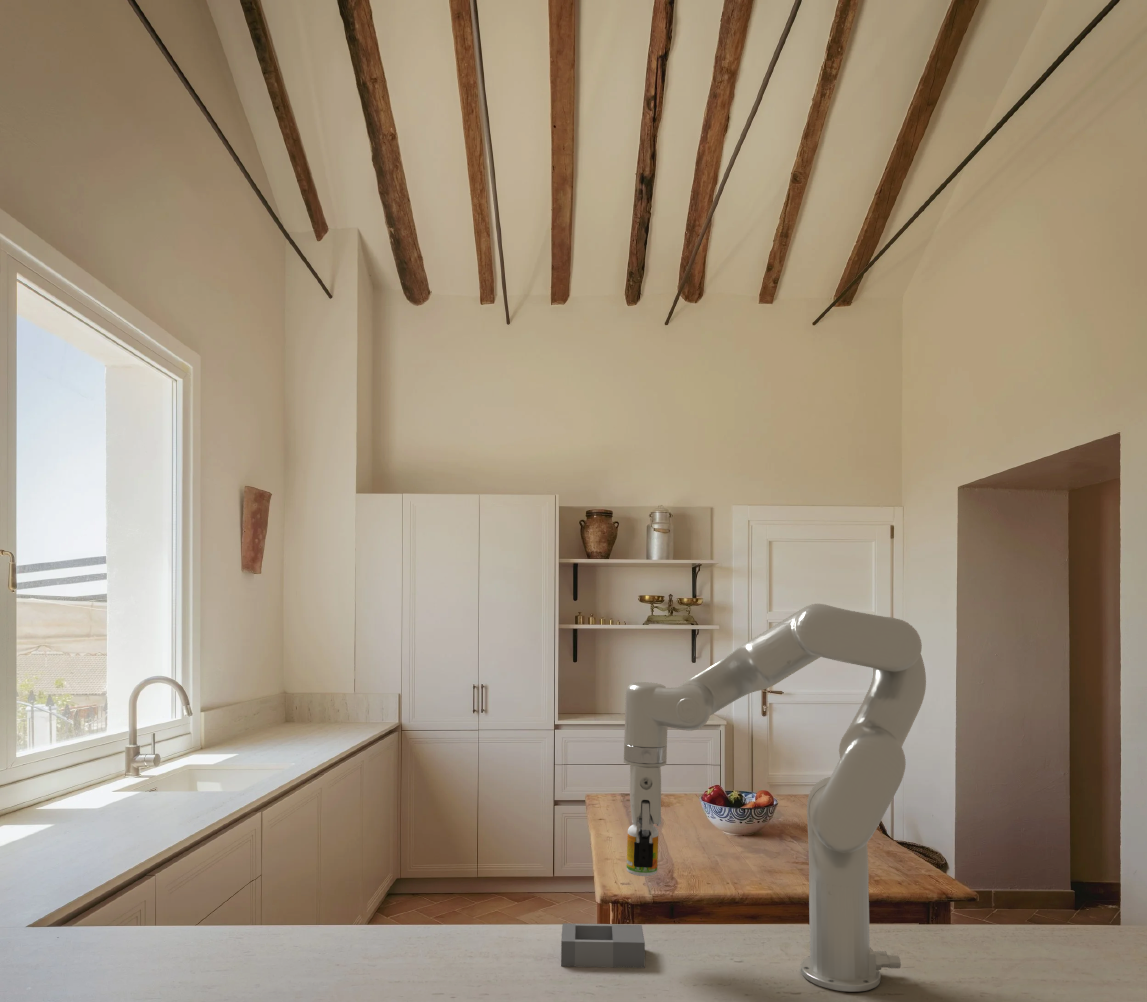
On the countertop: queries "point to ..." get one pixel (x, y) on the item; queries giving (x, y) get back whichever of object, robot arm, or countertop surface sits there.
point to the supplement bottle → (630, 852)
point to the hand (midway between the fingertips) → (642, 859)
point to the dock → (602, 945)
